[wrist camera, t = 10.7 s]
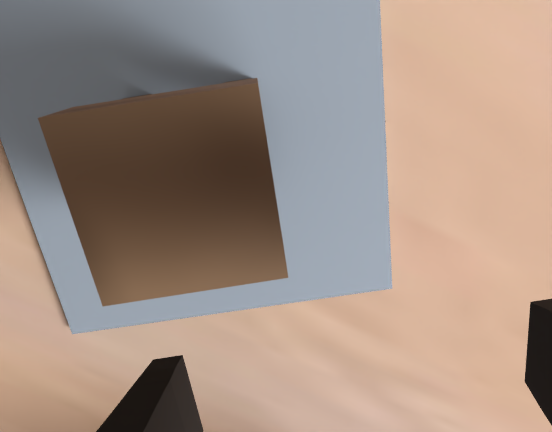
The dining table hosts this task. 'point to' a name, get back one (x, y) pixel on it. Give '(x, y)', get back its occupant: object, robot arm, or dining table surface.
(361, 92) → the felt mat
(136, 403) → the robot arm
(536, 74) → the dining table surface
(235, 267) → the walnut stool
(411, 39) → the dining table surface
